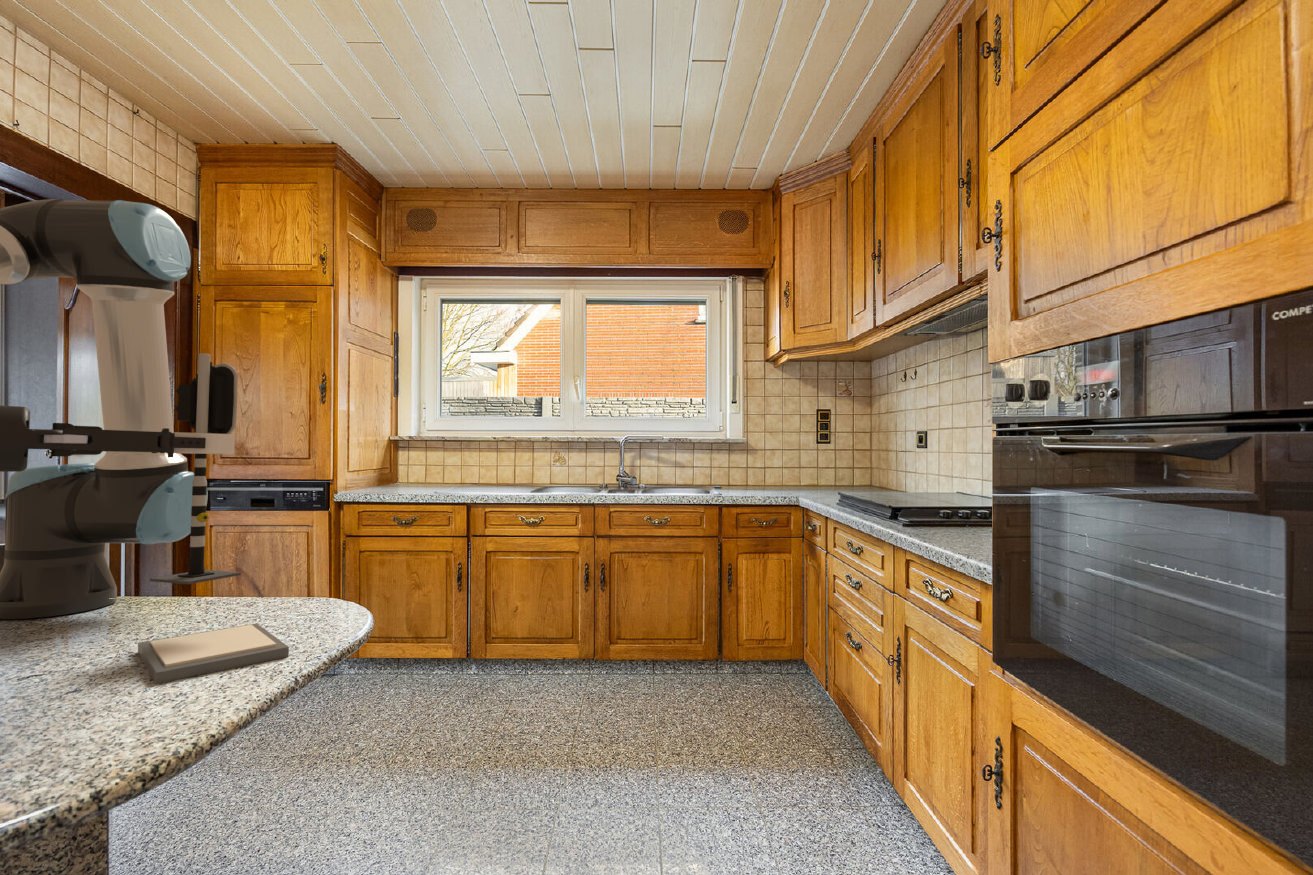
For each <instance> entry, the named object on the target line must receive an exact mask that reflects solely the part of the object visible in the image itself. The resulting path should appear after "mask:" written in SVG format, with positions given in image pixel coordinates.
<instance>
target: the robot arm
mask: <svg viewBox="0 0 1313 875" xmlns="http://www.w3.org/2000/svg"><path fill="white" fill-rule="evenodd" d="M191 259H192V257H191V252H190V248H189V243H188V241H187V239H186V236H185V234H184V232H183V231H182V228H181V227H180V226H179V225H178V224H177V223H176V221H175V220H174V219H173V218H172V217H171V216H170V215H169V214H168V213H167V212H165V210H162V209H161V208H160V207H158V206H155V205H152V204H150V203H144V202H137V201H136V202H135V201H129V200H128V201H127V200H121V199H118V200H91V199H90V200H89V199H88V200H87V199H86V200H85V199H83V200H82V199H79V200H78V199H77V200H76V199H59V198H58V199H57V198H52V199H51V198H50V199H40V200H34V201H33V200H32V201H27V202H22V203H19V204H14V205H9V206H4V207H2V208H0V285H14V284H17V283H20V282H24V281H27V280H32V279H33V280H34V279H40V278H41V279H42V278H43V279H44V278H45V279H48V278H69V279H71V278H72V279H73V278H74V279H76V280H75V281H76V288H77V289H78V290H79V291H81V292H82V293H83V294H85V295H87V297H89V299H90V301H91V304H92V315H93V327H94V336H95V338H94V339H95V347H96V349H95V350H96V360H97V369H98V370H97V371H98V380H99V381H98V382H99V392H100V393H99V394H100V401H101V402H100V403H101V412H102V414H101V415H102V425H103V428H102V427H101V426H97V425H96V426H95V425H94V426H92V425H74V424H72V423H68V422H53V423H52V427H51V428H48V429H47V428H46V429H43V428H42V429H41V428H40V429H39V428H36V429H35V428H30V426H31V425H30V424H31V410H30V409H29V408H28V407H27V406H15V405H0V473H3V472H8V473H9V472H10V473H11V472H13V473H12V474H11V476H9V479H8V484H7V492H6V493H5V519H4V520H5V521H4V524H5V526H4V528H5V530H4V559H3V566H2V568H1V570H0V620H23V619H24V620H25V619H26V620H27V619H35V618H36V619H38V618H46V617H55V616H62V615H63V616H64V615H68V614H76V613H81V612H86V611H90V610H94V609H101V608H102V607H106V606H109V605H112V604H114V603H116V602H117V599H109V598H117V597H118V596H117V595H118V587H117V584H116V582H115V579H114V577H113V574H112V572H111V569H110V567H109V565H108V562H107V559H106V557H105V556H106V554H105V552H106V551H105V550H106V544H143V545H155V544H162V543H163V544H165V543H167V544H169V543H174V542H178V541H181V540H182V539H183V540H184V538H186V537H187V536H189V535H191V509H192V484H193V480H194V471H193V472H192V471H189V467H188V466H189V465H188V458H187V457H186V456H184V455H183V454H191V455H192V454H194V455H195V453H199V454H207V455H235V442H236V440H235V439H236V434H234V433H233V434H232V433H231V434H211V433H196V432H183V431H182V432H181V431H179V432H177V431H176V432H174V422H173V408H172V395H171V382H170V370H169V369H170V367H169V355H168V343H167V331H166V330H167V329H166V320H165V319H166V318H165V306H164V305H165V303H166V302H167V301H168V300H170V299H171V298H172V297H173V296H175V284H174V283H175V282H177V281H179V280H182V279H183V278H185V277H186V276H187V275H188V271H189V270H190V268H191V261H192V260H191ZM29 450H49V451H50V457H65V458H66V457H71V456H75V455H78V456H79V455H80V456H81V455H82V456H87V455H89V456H97V455H101V454H102V453H103V452H105V454H104V456H102V457H101V458H100V459H99V460H98V461H97V462H90V463H89V462H88V463H83V462H82V463H70V464H69V463H67V464H53V465H45V466H35V467H29V468H28V463H29V462H28V461H29ZM208 496H209V494H208V490H207V497H206V507H207V506H208V505H207V504H208V499H209V498H208Z"/></svg>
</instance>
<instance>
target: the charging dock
mask: <svg viewBox="0 0 1313 875" xmlns="http://www.w3.org/2000/svg"><path fill="white" fill-rule="evenodd" d="M289 652H290V646H288V645H287V644H285V643H284V642H283V641H282V640H280V639H279V638H278V637H276V636H275V635H274V634H272V633H271V632H269V631H268V630H266V629H265V628H264V627H262V626H261V625H260V624H259V623H257V622H256V623H251V624H244V625H239V626H234V627H233V626H232V627H227V628H225V627H224V628H221V629H214V630H207V631H202V632H195V633H190V634H184V635H177V636H172V637H171V636H170V637H166V638H159V639H153V640H148V641H142V642H141V641H140V642H137V653H138V655H139V657H140V658H141V660H142V662H143V664H144V666H145V667H146V669H147V671H148V672H149V674H150V676H151V678H152V679H153V681H154V683H155V684H156V685H157V684H162V683H166V682H171V681H176V680H181V679H185V678H190V677H195V676H199V675H205V674H210V673H215V672H220V671H225V670H230V669H235V668H240V667H243V666H244V667H245V666H249V665H253V664H258V663H259V664H260V663H263V662H264V663H265V662H268V661H273V660H277V659H278V660H279V659H282V658H287V657H289Z"/></svg>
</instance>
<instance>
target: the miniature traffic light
mask: <svg viewBox="0 0 1313 875" xmlns="http://www.w3.org/2000/svg"><path fill="white" fill-rule="evenodd" d="M197 365H198V368H197V369H198V370H197V373H196V376H195V377H194V378H193V379H192V380H191V381H190V384H178V387H177V388H176V389H175V392H176V394H177V405H176V406H175V408H174V409H175V411H176V412H177V417H176V418H177V421H185V422H188V424H189V426H190V428H191V429H193V431H194V432H193V433H211V434H232V433H233V432H234V431H235V429H236V426H237V413H238V412H237V411H238V372H237V369H236V368H235V367H234V366H233V365H230V364H229V363H219V364H215V365H213V362H212V361H211V354H209V353H204V352H202V353H201V352H200V353H198V364H197ZM207 457H208V454H199V453H195V454H194V467H193V468H194V471H193V473H194V480H193V484H192V509H191V533H190V534H189V535H190V538H189V539H190V540H189V542H190V543H189V566H188V570H187V572H181V573H177V574H169V575H164V576H158V577H157V576H156V577H152V578H149V582H153V583H154V582H155V583H168V584H177V585H178V584H180V585H193V584H194V585H195V584H199V583H204V582H210V581H216V580H220V579H226V578H232V577H238V576H241V575H242V572H240V571H238V572H237V571H229V570H228V571H227V570H226V571H225V570H213V569H205V549H206V546H205V545H206V544H205V543H206V541H205V540H206V522H207V521H208V520H209V514H208V513H207V506H206V497H207V491H208V481H207V459H208V458H207Z"/></svg>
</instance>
